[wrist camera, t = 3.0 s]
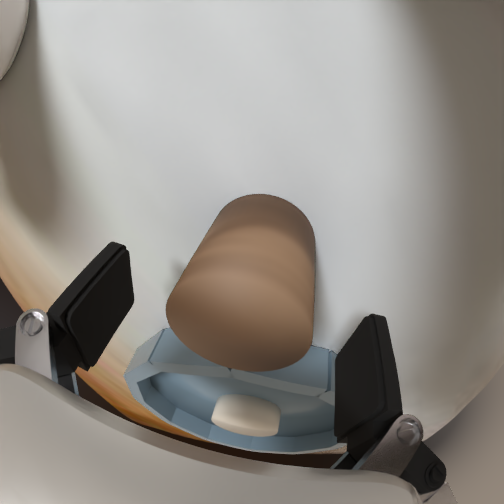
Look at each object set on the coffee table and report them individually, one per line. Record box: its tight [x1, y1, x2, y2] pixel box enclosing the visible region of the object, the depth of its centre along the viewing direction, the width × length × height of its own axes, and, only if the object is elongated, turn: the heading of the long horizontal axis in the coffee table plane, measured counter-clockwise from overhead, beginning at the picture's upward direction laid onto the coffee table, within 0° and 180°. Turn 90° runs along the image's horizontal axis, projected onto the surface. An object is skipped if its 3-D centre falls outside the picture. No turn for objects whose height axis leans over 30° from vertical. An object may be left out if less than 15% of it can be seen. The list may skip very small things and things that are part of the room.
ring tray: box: [124, 328, 347, 454], centre depth 21 cm, size 21×21×3 cm
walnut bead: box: [166, 194, 315, 372], centre depth 10 cm, size 4×4×5 cm
